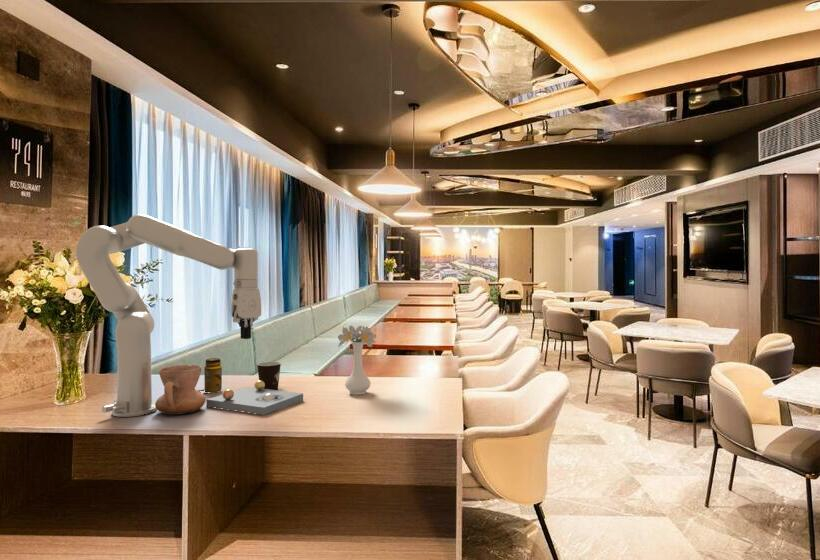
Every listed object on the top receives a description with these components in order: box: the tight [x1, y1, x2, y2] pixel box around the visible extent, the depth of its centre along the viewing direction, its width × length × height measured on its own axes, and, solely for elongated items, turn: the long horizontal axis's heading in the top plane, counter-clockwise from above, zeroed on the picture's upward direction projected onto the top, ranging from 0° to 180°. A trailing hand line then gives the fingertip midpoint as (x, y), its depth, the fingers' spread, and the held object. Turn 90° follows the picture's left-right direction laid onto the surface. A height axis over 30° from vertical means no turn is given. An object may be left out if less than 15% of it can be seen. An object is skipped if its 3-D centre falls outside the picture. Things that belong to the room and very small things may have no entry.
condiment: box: [196, 357, 223, 393], centre depth 188 cm, size 7×8×12 cm
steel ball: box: [263, 393, 275, 400], centre depth 168 cm, size 4×4×4 cm
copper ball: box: [222, 388, 234, 400], centre depth 166 cm, size 4×4×4 cm
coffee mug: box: [256, 361, 282, 391], centre depth 191 cm, size 12×9×10 cm
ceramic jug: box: [154, 363, 206, 415], centre depth 160 cm, size 18×14×14 cm
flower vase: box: [337, 325, 377, 396], centre depth 186 cm, size 13×18×25 cm
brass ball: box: [254, 379, 265, 390], centre depth 179 cm, size 4×4×4 cm
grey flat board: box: [206, 386, 304, 416], centre depth 170 cm, size 24×20×2 cm
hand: (245, 338), depth 172 cm, fingers closed
